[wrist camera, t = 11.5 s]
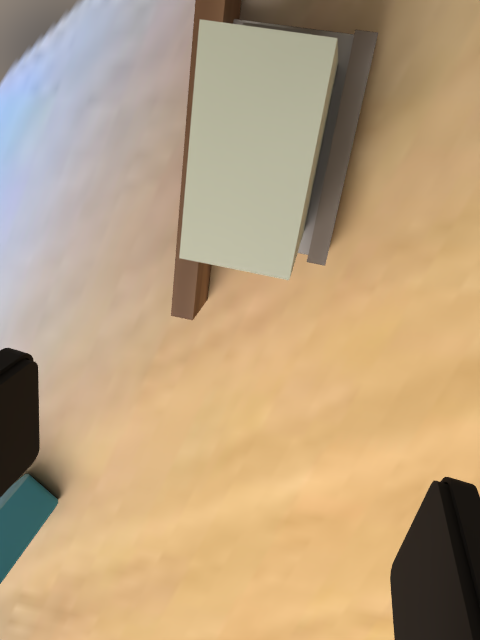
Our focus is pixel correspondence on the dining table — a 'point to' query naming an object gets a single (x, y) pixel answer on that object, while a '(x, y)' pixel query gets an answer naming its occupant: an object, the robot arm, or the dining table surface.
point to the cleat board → (349, 87)
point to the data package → (21, 518)
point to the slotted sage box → (254, 144)
